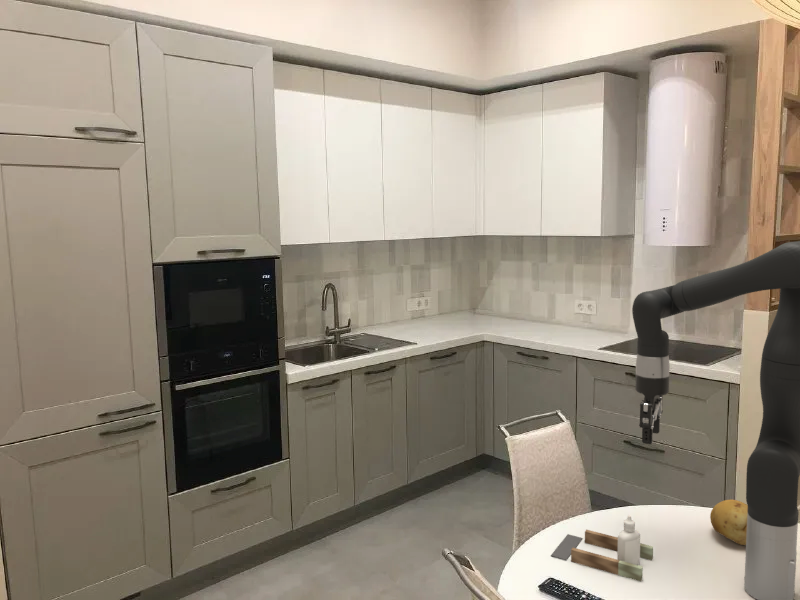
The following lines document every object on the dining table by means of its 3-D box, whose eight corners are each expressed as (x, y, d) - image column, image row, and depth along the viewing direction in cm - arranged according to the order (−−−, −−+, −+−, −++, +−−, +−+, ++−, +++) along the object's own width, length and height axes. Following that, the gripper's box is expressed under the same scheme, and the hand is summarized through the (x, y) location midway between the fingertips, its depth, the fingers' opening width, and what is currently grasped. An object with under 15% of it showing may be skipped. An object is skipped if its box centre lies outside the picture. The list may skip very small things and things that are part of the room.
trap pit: (582, 539, 160) (582, 537, 160) (566, 560, 150) (566, 559, 150) (567, 535, 162) (567, 534, 162) (550, 556, 152) (550, 555, 152)
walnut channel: (652, 558, 150) (653, 546, 149) (641, 581, 140) (641, 569, 140) (586, 540, 159) (586, 529, 158) (571, 561, 149) (571, 549, 149)
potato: (734, 525, 164) (735, 489, 163) (770, 550, 152) (772, 510, 151) (699, 530, 162) (700, 493, 161) (732, 555, 150) (734, 515, 149)
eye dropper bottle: (644, 569, 145) (645, 520, 144) (619, 569, 145) (620, 520, 144) (637, 559, 150) (638, 511, 148) (613, 559, 150) (614, 512, 148)
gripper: (663, 381, 143) (661, 450, 145) (674, 368, 155) (672, 431, 157) (629, 377, 147) (627, 444, 149) (642, 365, 159) (641, 427, 161)
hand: (650, 437), depth 153 cm, fingers open, 8 cm apart
